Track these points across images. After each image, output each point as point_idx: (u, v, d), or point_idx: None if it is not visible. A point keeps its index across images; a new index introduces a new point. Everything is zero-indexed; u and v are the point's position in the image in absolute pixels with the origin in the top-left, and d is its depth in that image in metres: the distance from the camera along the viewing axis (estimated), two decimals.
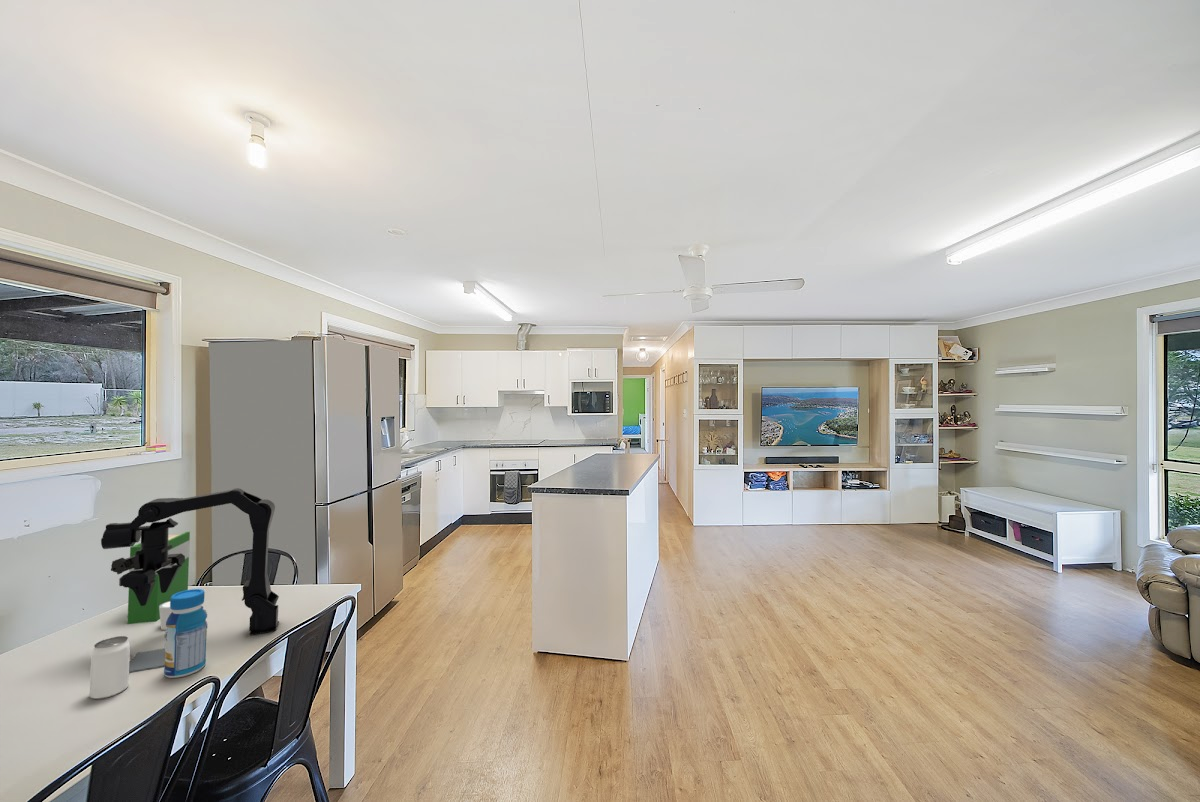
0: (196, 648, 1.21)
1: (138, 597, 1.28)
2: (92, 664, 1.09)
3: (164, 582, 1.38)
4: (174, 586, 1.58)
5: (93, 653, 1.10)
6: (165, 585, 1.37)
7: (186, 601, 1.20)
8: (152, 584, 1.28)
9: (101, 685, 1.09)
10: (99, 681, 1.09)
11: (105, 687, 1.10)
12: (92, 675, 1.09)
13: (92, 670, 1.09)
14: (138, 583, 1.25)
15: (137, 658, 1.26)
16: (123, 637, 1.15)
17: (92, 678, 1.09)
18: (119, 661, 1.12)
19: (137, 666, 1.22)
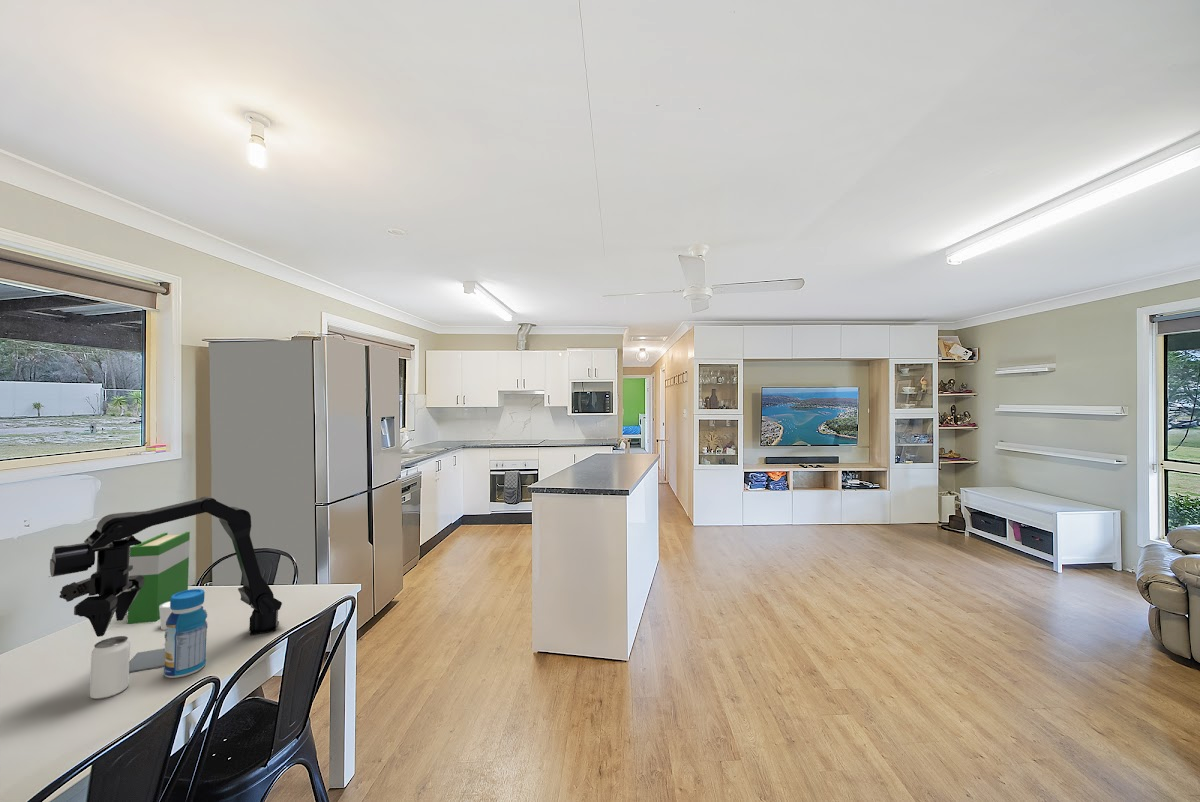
0: (196, 648, 1.21)
1: (95, 627, 1.12)
2: (92, 664, 1.09)
3: (120, 608, 1.21)
4: (174, 586, 1.58)
5: (93, 653, 1.10)
6: (122, 612, 1.21)
7: (186, 601, 1.20)
8: (113, 611, 1.13)
9: (101, 685, 1.09)
10: (99, 681, 1.09)
11: (105, 687, 1.10)
12: (92, 675, 1.09)
13: (92, 670, 1.09)
14: (98, 611, 1.09)
15: (137, 658, 1.26)
16: (123, 637, 1.15)
17: (92, 678, 1.09)
18: (119, 661, 1.12)
19: (137, 666, 1.22)
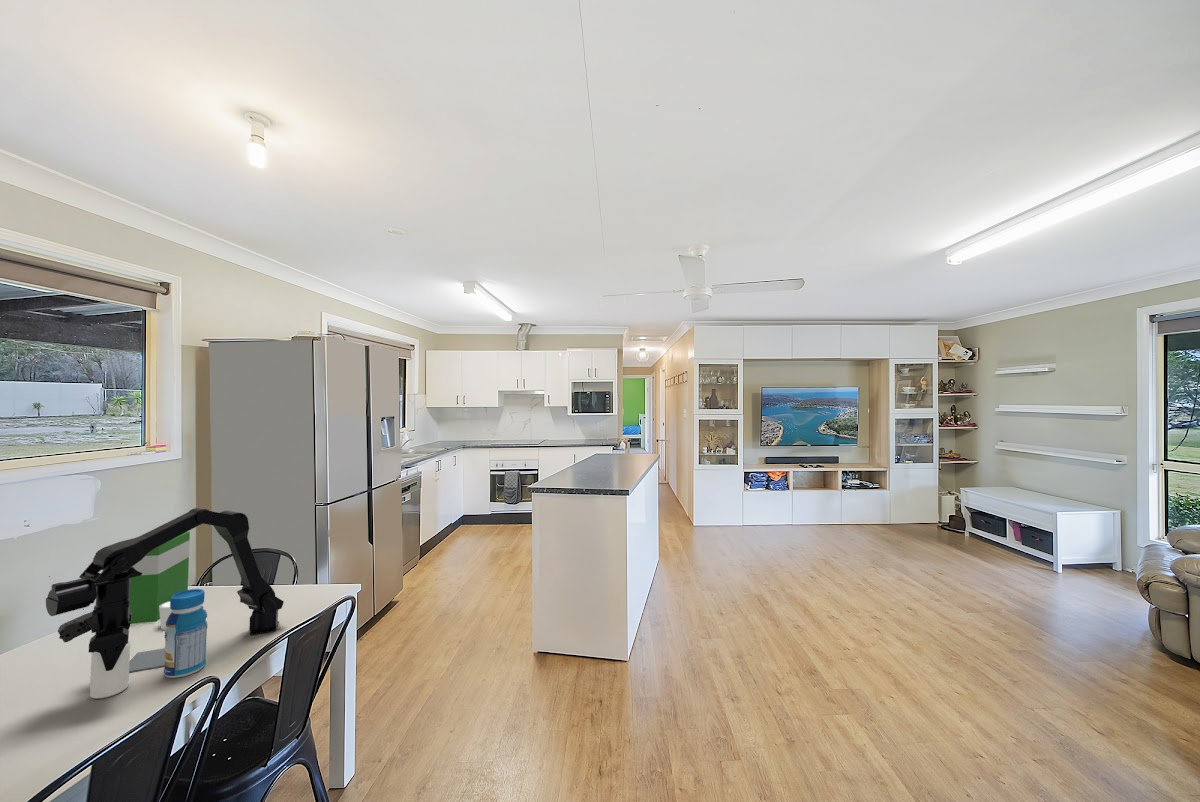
0: (196, 648, 1.21)
1: (105, 661, 1.09)
2: (92, 664, 1.09)
3: None
4: (174, 586, 1.58)
5: (93, 653, 1.10)
6: None
7: (186, 601, 1.20)
8: None
9: (101, 685, 1.09)
10: (99, 681, 1.09)
11: (105, 687, 1.10)
12: (92, 675, 1.09)
13: (92, 670, 1.09)
14: (116, 645, 1.07)
15: (137, 658, 1.26)
16: None
17: (92, 678, 1.09)
18: (119, 661, 1.12)
19: (137, 666, 1.22)
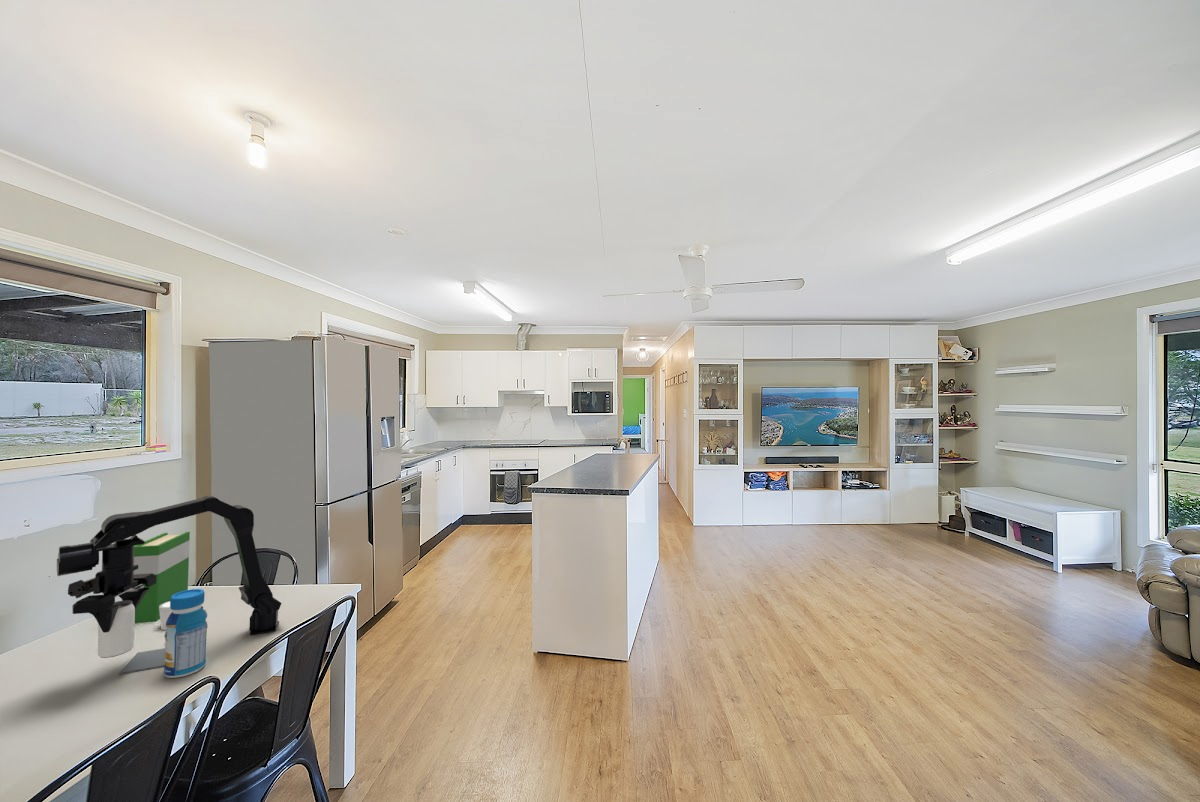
0: (196, 648, 1.21)
1: (100, 623, 1.15)
2: None
3: None
4: (174, 586, 1.58)
5: None
6: None
7: (186, 601, 1.20)
8: (114, 609, 1.15)
9: (101, 645, 1.16)
10: (100, 641, 1.16)
11: (103, 648, 1.16)
12: (98, 633, 1.17)
13: (98, 629, 1.17)
14: (93, 611, 1.11)
15: (137, 658, 1.26)
16: (131, 602, 1.21)
17: (98, 636, 1.17)
18: (115, 626, 1.17)
19: (137, 666, 1.22)
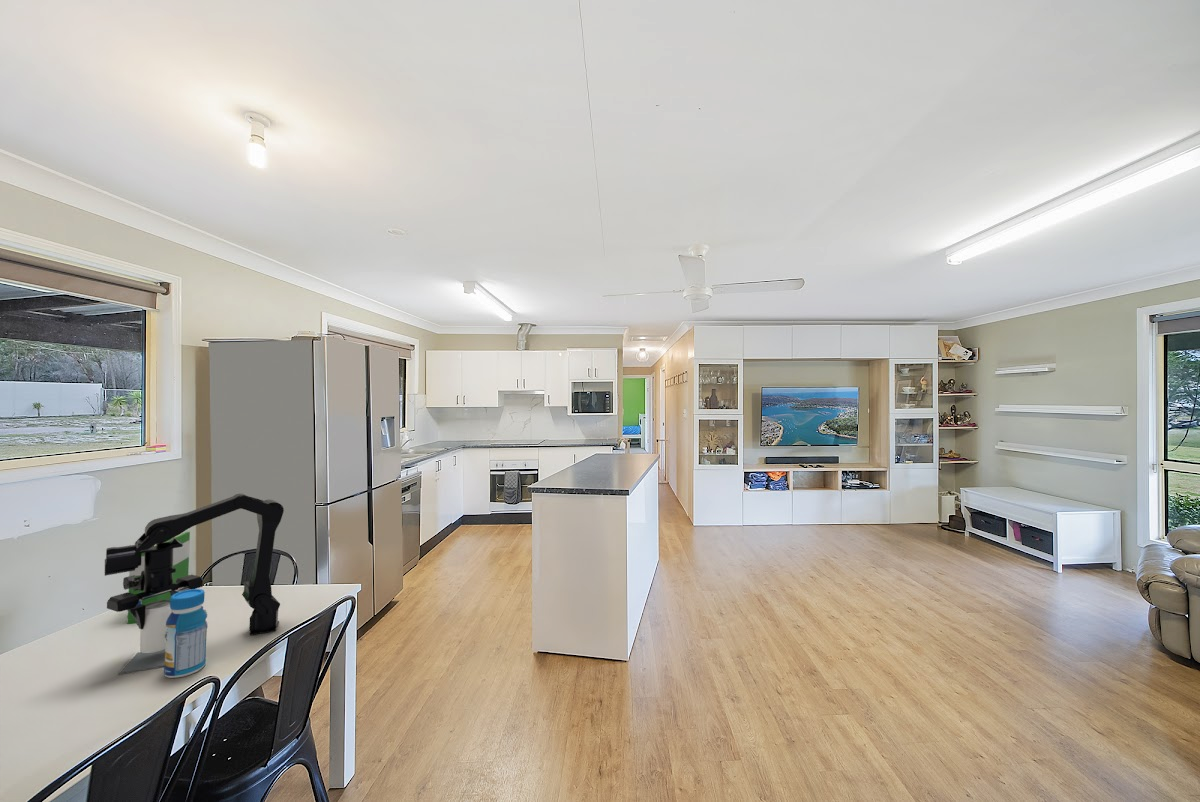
0: (196, 648, 1.21)
1: (135, 619, 1.23)
2: None
3: None
4: None
5: None
6: None
7: (186, 601, 1.20)
8: (140, 610, 1.21)
9: (140, 640, 1.25)
10: None
11: (140, 643, 1.24)
12: None
13: None
14: (115, 609, 1.18)
15: (137, 658, 1.26)
16: (169, 603, 1.28)
17: None
18: (147, 625, 1.24)
19: (137, 666, 1.22)
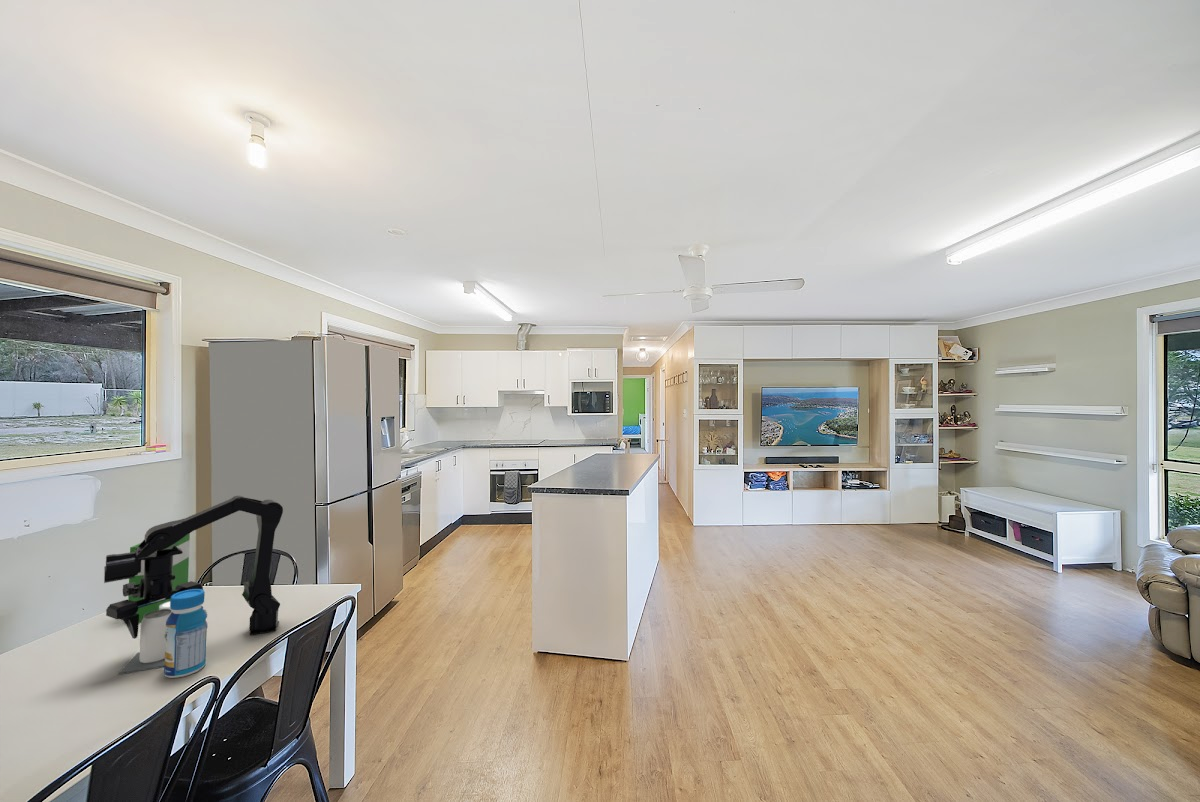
0: (196, 648, 1.21)
1: (128, 629, 1.22)
2: None
3: None
4: (174, 586, 1.58)
5: None
6: None
7: (186, 601, 1.20)
8: (133, 619, 1.20)
9: None
10: (140, 645, 1.25)
11: (140, 653, 1.24)
12: None
13: None
14: (114, 617, 1.18)
15: (137, 658, 1.26)
16: (168, 613, 1.28)
17: None
18: (147, 634, 1.24)
19: (137, 666, 1.22)
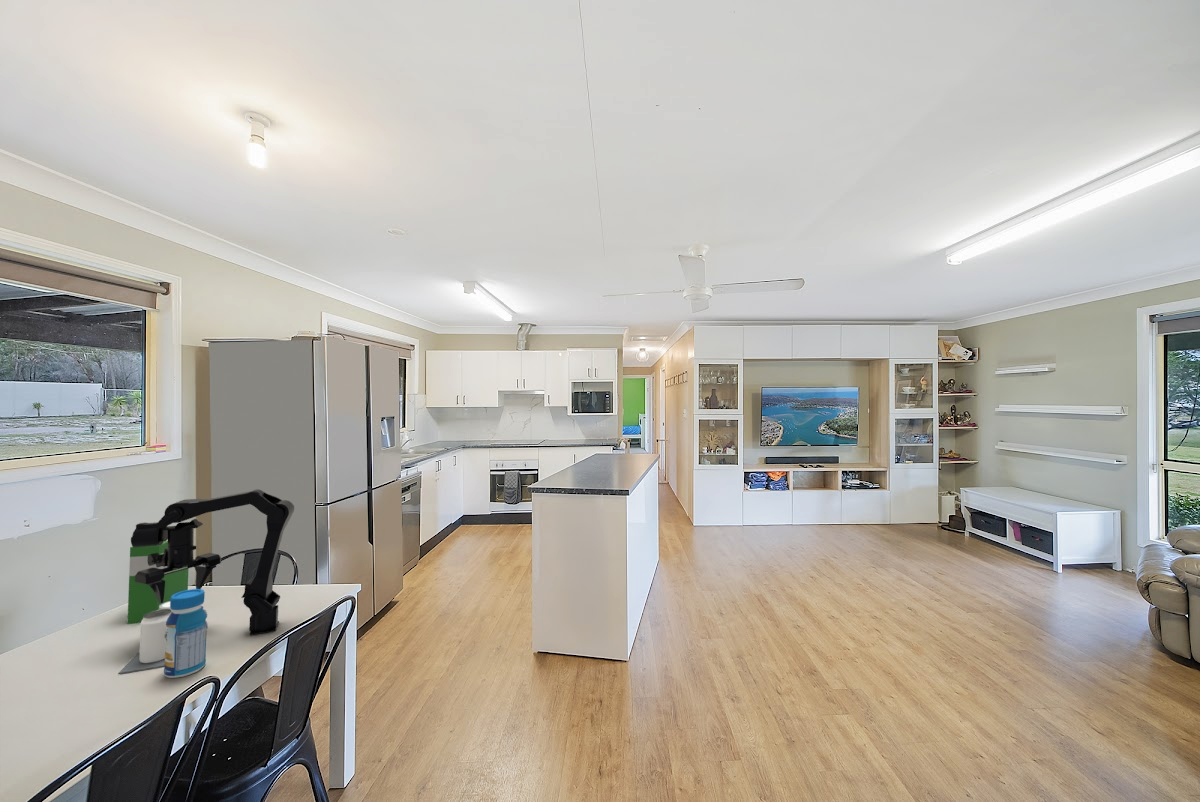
0: (196, 648, 1.21)
1: (155, 594, 1.33)
2: None
3: (198, 580, 1.42)
4: (174, 586, 1.58)
5: None
6: (198, 584, 1.42)
7: (186, 601, 1.20)
8: (160, 584, 1.31)
9: None
10: (140, 645, 1.25)
11: (140, 653, 1.24)
12: None
13: None
14: (143, 582, 1.28)
15: (137, 658, 1.26)
16: (168, 613, 1.28)
17: None
18: (147, 634, 1.24)
19: (137, 666, 1.22)
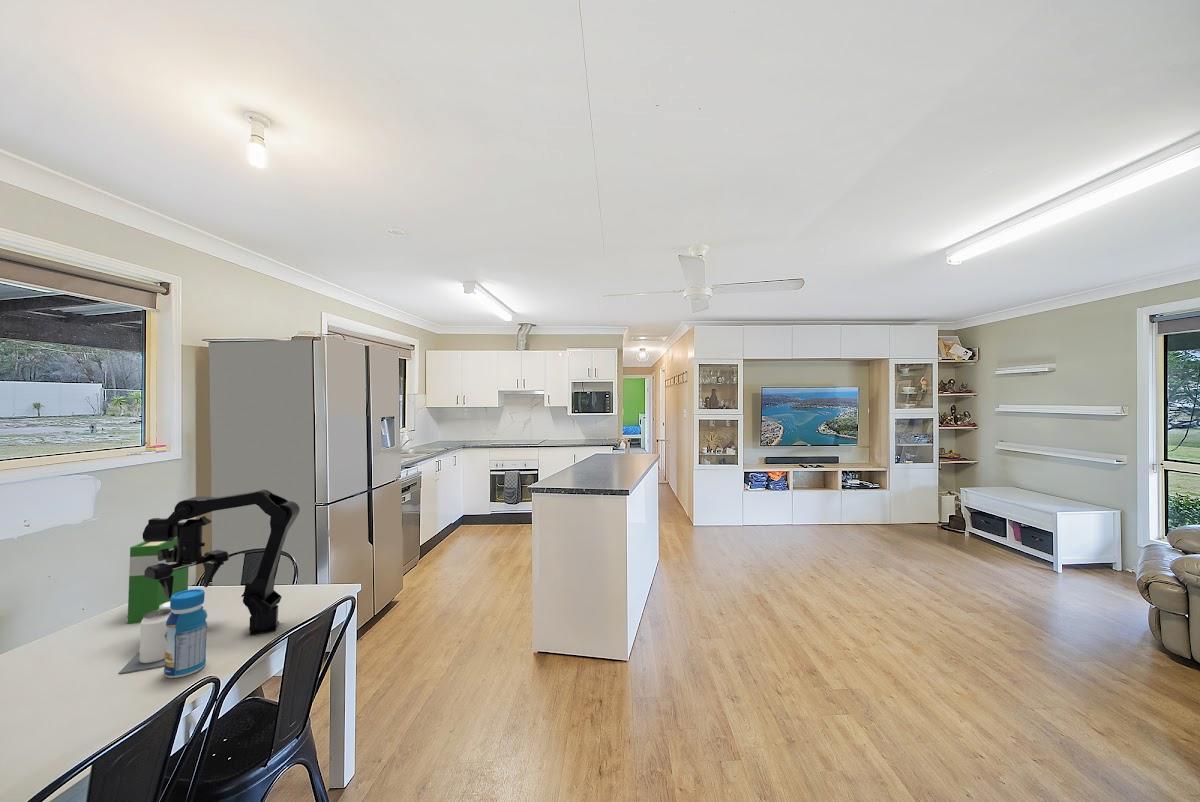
0: (196, 648, 1.21)
1: (164, 589, 1.35)
2: None
3: (206, 576, 1.44)
4: (174, 586, 1.58)
5: None
6: (206, 580, 1.44)
7: (186, 601, 1.20)
8: (169, 580, 1.33)
9: None
10: (140, 645, 1.25)
11: (140, 653, 1.24)
12: None
13: None
14: (152, 577, 1.31)
15: (137, 658, 1.26)
16: (168, 613, 1.28)
17: None
18: (147, 634, 1.24)
19: (137, 666, 1.22)
